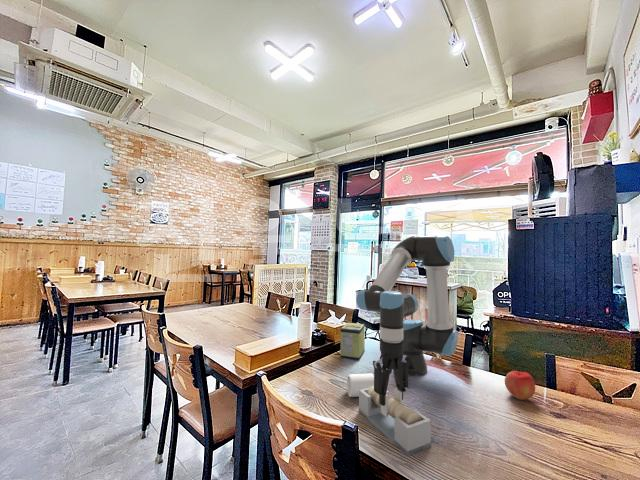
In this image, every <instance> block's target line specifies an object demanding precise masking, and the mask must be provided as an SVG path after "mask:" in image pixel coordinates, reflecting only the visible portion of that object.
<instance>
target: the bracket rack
mask: <svg viewBox="0 0 640 480" xmlns="http://www.w3.org/2000/svg"><path fill="white" fill-rule="evenodd" d="M368 389H369V388H366V389H362V390H359V397H358V413H360V415H362V416H364V418H365V419H366V420H367V421H369V422H370V423H371V424H372V425H373V426H374V427H375V428H376V429H378V431H380V432H381V433H382V434H383V436H385V437H386V438H387V439H388V440H390V441H391V442H392V444H393V445H395V446H396V447H397V448H398V449H399V450H400V451H402V452H403V453H404V454H405V455H406V456H407V457H409V456H411V455H414V454H416V453H419V452H421V451H424V450H426V449H428V448H429V449H430V448H431V447H432V422H431V421H432V420H431V419H430V418H429V417H427V416H425V415H424V414H422V413H421V412H419V411H418V410H415V411H414V410H413V412H415V413H416V414H418V415H419V416H420V418H421V421H419V422H416V423H414V424H411V425H407V424H406V423H405V422H403V421H402V420H401V419H400V418H398V417H396V418H393V417H391V416H390V415H389V414H388V417H386V416H384V415H383V414H382V413H381V408H380V407H378V406H377V405H376V404H375V403H373V402H372V401H371V396H370V395H368V394H367V391H368ZM386 393H387V394H389V395H390V392H389V391H388V390H387V392H386Z"/></svg>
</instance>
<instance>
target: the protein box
mask: <svg viewBox="0 0 640 480" xmlns="http://www.w3.org/2000/svg"><path fill="white" fill-rule="evenodd" d="M365 331H366V330H365V323H356V322H346V323H345V324H344V325H343V326H342V327H341V328H340V359H344V358H345V359H347V360H353V361H360V360H361V358H362V356H363V355H364V353H365V350H366V349H365V345H366V344H365V343H366V341H365V337H366V333H365ZM345 359H344V360H345Z"/></svg>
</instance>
